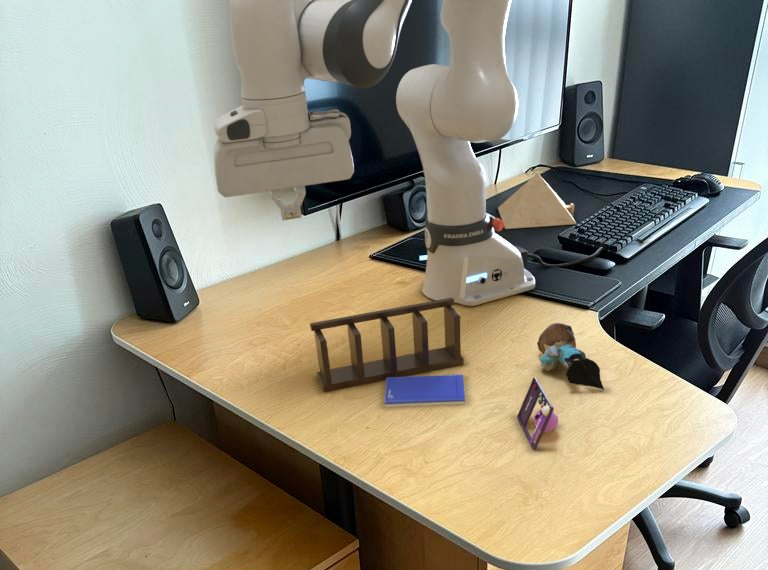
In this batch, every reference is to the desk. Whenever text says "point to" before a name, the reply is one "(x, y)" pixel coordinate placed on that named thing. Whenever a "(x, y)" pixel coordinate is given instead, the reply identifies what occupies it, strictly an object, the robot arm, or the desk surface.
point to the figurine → (567, 356)
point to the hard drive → (424, 391)
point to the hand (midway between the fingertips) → (291, 218)
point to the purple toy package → (543, 418)
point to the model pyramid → (535, 207)
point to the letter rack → (389, 347)
